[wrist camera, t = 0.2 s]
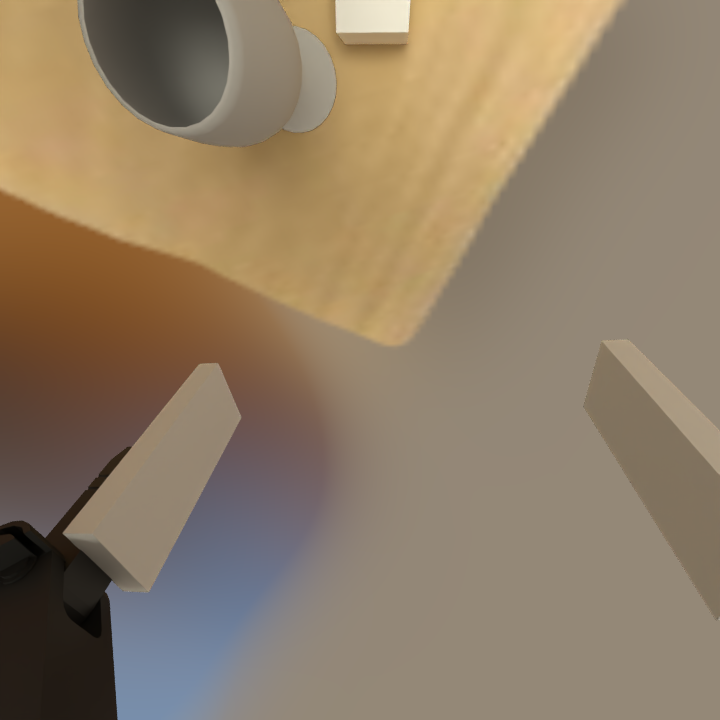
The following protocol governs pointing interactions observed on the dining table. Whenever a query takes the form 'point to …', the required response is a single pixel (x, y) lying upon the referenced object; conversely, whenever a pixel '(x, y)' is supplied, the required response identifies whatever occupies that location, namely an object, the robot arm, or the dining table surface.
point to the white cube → (373, 21)
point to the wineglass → (210, 67)
